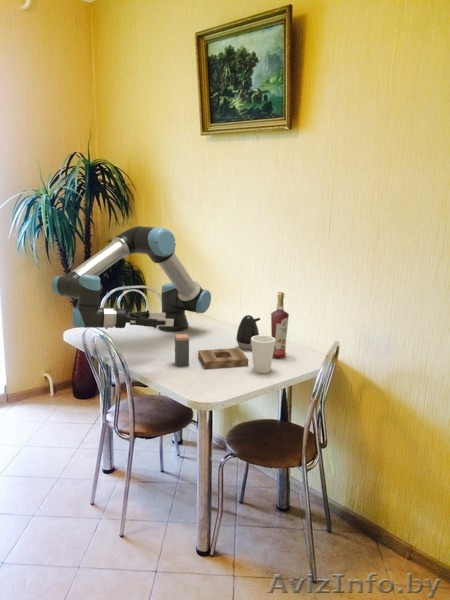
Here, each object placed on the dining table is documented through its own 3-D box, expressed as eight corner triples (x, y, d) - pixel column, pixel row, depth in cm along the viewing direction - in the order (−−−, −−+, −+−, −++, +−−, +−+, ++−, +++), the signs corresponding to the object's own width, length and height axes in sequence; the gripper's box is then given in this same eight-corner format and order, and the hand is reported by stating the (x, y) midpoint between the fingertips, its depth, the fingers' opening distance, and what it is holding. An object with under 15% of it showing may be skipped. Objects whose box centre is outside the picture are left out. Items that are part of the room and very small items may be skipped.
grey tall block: (176, 366, 192) (176, 338, 190) (175, 362, 197) (174, 334, 194) (189, 366, 193) (189, 337, 191) (187, 361, 198) (187, 333, 195)
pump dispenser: (257, 352, 211) (258, 319, 207) (234, 350, 213) (235, 317, 209) (260, 345, 221) (261, 313, 217) (238, 343, 223) (239, 311, 219)
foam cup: (261, 364, 197) (262, 333, 194) (278, 370, 191) (280, 339, 188) (245, 369, 190) (246, 338, 188) (262, 376, 184) (264, 344, 181)
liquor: (277, 360, 201) (280, 295, 195) (265, 355, 207) (268, 292, 201) (290, 357, 205) (293, 293, 199) (278, 352, 211) (281, 290, 205)
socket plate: (204, 369, 190) (204, 361, 190) (198, 357, 204) (198, 350, 203) (248, 366, 195) (248, 359, 194) (239, 354, 208) (239, 347, 207)
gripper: (110, 321, 195) (161, 322, 202) (118, 334, 171) (176, 335, 179) (111, 303, 194) (162, 305, 201) (119, 314, 171) (177, 315, 178)
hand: (169, 319), depth 190 cm, fingers open, 13 cm apart
